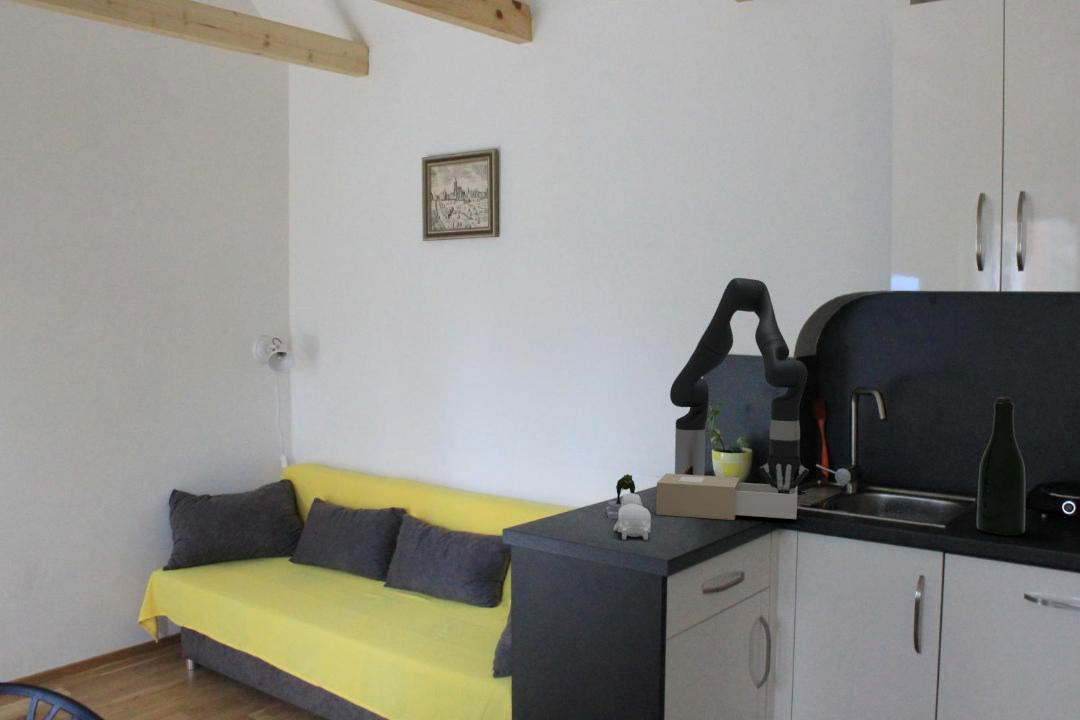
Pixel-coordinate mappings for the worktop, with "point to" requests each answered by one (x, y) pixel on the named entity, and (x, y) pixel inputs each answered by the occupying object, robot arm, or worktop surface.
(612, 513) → the dinosaur figurine
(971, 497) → the worktop surface
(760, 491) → the tray
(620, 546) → the worktop surface
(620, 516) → the white animal figurine
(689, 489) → the sleeve
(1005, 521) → the beer bottle
